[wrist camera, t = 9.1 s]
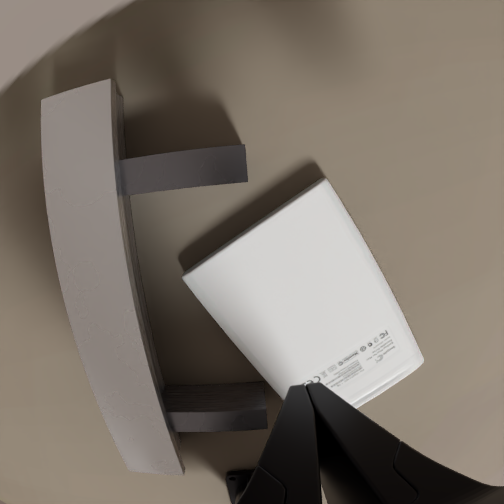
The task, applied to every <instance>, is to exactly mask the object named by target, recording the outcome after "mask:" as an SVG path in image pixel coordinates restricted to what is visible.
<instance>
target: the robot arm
mask: <svg viewBox="0 0 504 504" xmlns="http://www.w3.org/2000/svg"><path fill="white" fill-rule="evenodd" d="M226 482H227V486H228V490H229V494H230V498H231V501H232V504H322V494H321V484H322V488H323V491H324V494H325V497H326V500H327V503H328V504H504V486H491V485H487V484H484V483H481V482H478V481H476V480H474V479H471V478H469V477H467V476H465V475H462V474H460V473H458V472H456V471H454V470H452V469H449V468H447V467H445V466H443V465H441V464H439V463H437V462H435V461H433V460H432V459H430V458H428V457H426V456H424V455H423V454H421V453H419V452H418V451H416V450H415V449H413V448H412V447H410V446H409V445H407V444H406V443H404V442H403V441H401V442H400V439H398V438H397V437H395V436H394V435H392V434H391V433H389V432H388V431H387V430H385V429H384V428H382V427H381V426H379V425H378V424H377V423H375V422H374V421H372V420H371V419H370V418H368V417H367V416H365V415H364V414H363V413H361V412H360V411H359V410H357V409H356V408H354V407H353V406H352V405H350V404H349V403H348V402H346V401H345V400H344V399H342V398H341V397H340V396H338V395H337V394H336V393H334V392H333V391H332V390H330V389H329V388H328V387H326V386H325V385H324V384H322V383H321V382H316V383H308V384H306V386H305V385H304V384H300V385H292V386H290V387H289V389H288V392H287V395H286V397H285V400H284V402H283V405H282V407H281V410H280V412H279V415H278V417H277V420H276V422H275V425H274V427H273V429H272V432H271V434H270V437H269V439H268V441H267V444H266V446H265V448H264V451H263V453H262V455H261V458H260V460H259V462H258V464H257V467H256V468H255V470H249V471H230V472H227V473H226Z"/></svg>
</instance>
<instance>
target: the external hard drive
mask: <svg viewBox="0 0 504 504" xmlns="http://www.w3.org/2000/svg"><path fill="white" fill-rule="evenodd" d="M182 279H183V281H184V282H185V283H186V284H187V286H188V287H189V288H190V289H191V291H192V292H193V293H194V295H195V296H196V297H197V299H198V300H199V301H200V302H201V304H202V305H203V306H204V307H205V308H206V310H207V311H208V312H209V313H210V315H211V316H212V317H213V318H214V319H215V321H216V322H217V323H218V324H219V326H220V327H221V328H222V329H223V330H224V332H225V333H226V334H227V335H228V337H229V338H230V339H231V340H232V341H233V343H234V344H235V345H236V346H237V347H238V348H239V350H240V351H241V352H242V353H243V354H244V356H245V357H246V358H247V359H248V360H249V361H250V363H251V364H252V365H253V366H254V367H255V368H256V370H257V371H258V372H259V373H260V374H261V375H262V376H263V378H264V379H265V380H266V381H267V382H268V383H269V384H270V385H271V387H272V388H273V389H274V390H275V391H276V392H277V393H278V394H279V396H280V397H281V398H282V399H283V400H285V397H286V395H287V392H288V389H289V387H290V386H292V385H300V384H304V385H305V386H306V384H308V383H316V382H321V383H322V384H324V385H325V386H326V387H328V388H329V389H330V390H332V391H333V392H334V393H336V394H337V395H338V396H340V397H341V398H342V399H344V400H345V401H346V402H348V403H349V404H350V405H352V406H353V407H354V408H358V407H360V406H361V405H363V404H364V403H366V402H368V401H369V400H371V399H373V398H374V397H376V396H378V395H379V394H381V393H382V392H384V391H385V390H387V389H388V388H390V387H391V386H393V385H394V384H396V383H397V382H399V381H400V380H402V379H403V378H405V377H406V376H407V375H409V374H410V373H412V372H413V371H415V370H416V369H417V368H418V367H419V366H421V364H422V363H423V362H424V358H423V356H422V354H421V352H420V350H419V348H418V345H417V343H416V341H415V338H414V336H413V334H412V332H411V330H410V328H409V325H408V323H407V321H406V319H405V317H404V315H403V313H402V311H401V309H400V307H399V305H398V303H397V301H396V299H395V297H394V295H393V293H392V291H391V289H390V287H389V285H388V283H387V281H386V279H385V277H384V275H383V274H382V272H381V270H380V268H379V266H378V264H377V263H376V261H375V259H374V257H373V255H372V253H371V252H370V250H369V248H368V246H367V244H366V243H365V241H364V239H363V237H362V236H361V234H360V232H359V230H358V229H357V227H356V225H355V223H354V222H353V220H352V219H351V217H350V215H349V214H348V212H347V210H346V209H345V207H344V205H343V204H342V202H341V200H340V199H339V197H338V195H337V194H336V192H335V191H334V189H333V188H332V186H331V185H330V183H329V181H328V180H327V179H326V178H321V179H319V180H318V181H316V182H315V183H313V184H312V185H310V186H309V187H307V188H306V189H304V190H303V191H301V192H300V193H299V194H297V195H296V196H294V197H293V198H291V199H290V200H288V201H287V202H285V203H284V204H282V205H281V206H279V207H278V208H276V209H275V210H273V211H272V212H271V213H269V214H268V215H266V216H265V217H263V218H262V219H260V220H259V221H257V222H256V223H254V224H253V225H252V226H250V227H249V228H247V229H246V230H244V231H243V232H241V233H240V234H239V235H237V236H236V237H234V238H233V239H231V240H230V241H228V242H227V243H225V244H224V245H223V246H221V247H220V248H218V249H217V250H215V251H214V252H213V253H211V254H210V255H208V256H207V257H205V258H204V259H202V260H201V261H200V262H198V263H197V264H195V265H194V266H192V267H191V268H189V269H188V270H187V271H185V272H184V274H183V276H182Z"/></svg>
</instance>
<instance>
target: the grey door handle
mask: <svg viewBox="0 0 504 504" xmlns="http://www.w3.org/2000/svg"><path fill="white" fill-rule="evenodd" d="M41 146H42V165H43V178H44V189H45V199H46V207H47V215H48V222H49V229H50V235H51V241H52V247H53V252H54V258H55V263H56V268H57V273H58V277H59V282H60V286H61V290H62V295H63V299H64V303H65V307H66V310H67V314H68V318H69V321H70V325H71V328H72V332H73V335H74V338H75V342H76V345H77V348H78V351H79V354H80V357H81V360H82V363H83V366H84V369H85V372H86V374H87V377H88V380H89V383H90V385H91V388H92V391H93V393H94V396H95V398H96V401H97V403H98V406H99V408H100V410H101V413H102V415H103V417H104V420H105V422H106V424H107V427H108V429H109V431H110V433H111V435H112V437H113V440H114V442H115V444H116V446H117V448H118V450H119V452H120V454H121V456H122V458H123V460H124V462H125V464H126V466H127V468H128V470H129V471H133V472H142V473H153V474H166V475H184V473H185V466H184V464H183V461H182V458H181V455H180V452H179V450H180V445H181V439H180V436H179V433H178V432H220V431H243V430H258V429H268V427H267V414H266V403H265V392H264V382H251V383H236V384H216V385H178V386H165V385H164V381H163V377H162V373H161V369H160V365H159V361H158V357H157V353H156V349H155V344H154V340H153V335H152V331H151V326H150V322H149V317H148V312H147V307H146V302H145V297H144V291H143V286H142V280H141V275H140V269H139V263H138V256H137V250H136V243H135V236H134V229H133V221H132V213H131V205H130V196H129V195H133V194H141V193H148V192H156V191H164V190H172V189H181V188H190V187H199V186H209V185H219V184H230V183H241V182H248V176H247V164H246V152H245V144H243V145H231V146H220V147H211V148H201V149H193V150H185V151H177V152H169V153H162V154H155V155H149V156H142V157H136V158H130V159H126V151H125V135H124V114H123V97H122V96H120V95H119V94H117V93H116V82H115V81H114V80H112V79H107V80H103V81H99V82H95V83H92V84H88V85H85V86H81V87H78V88H75V89H72V90H68V91H65V92H62V93H59V94H56V95H53V96H50V97H47V98H45V99H42V100H41Z"/></svg>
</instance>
